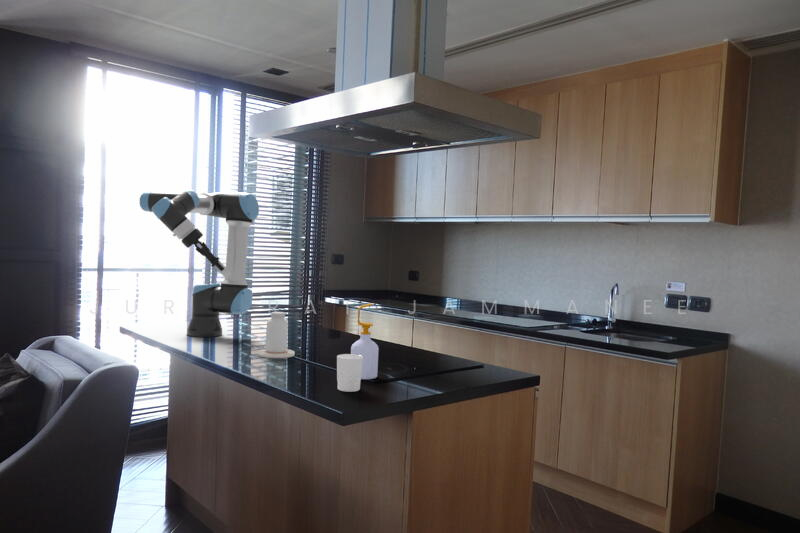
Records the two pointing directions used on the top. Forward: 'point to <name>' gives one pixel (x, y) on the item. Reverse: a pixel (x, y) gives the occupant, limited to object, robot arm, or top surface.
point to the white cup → (349, 372)
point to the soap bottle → (366, 350)
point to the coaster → (276, 354)
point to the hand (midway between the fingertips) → (228, 275)
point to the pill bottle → (277, 333)
